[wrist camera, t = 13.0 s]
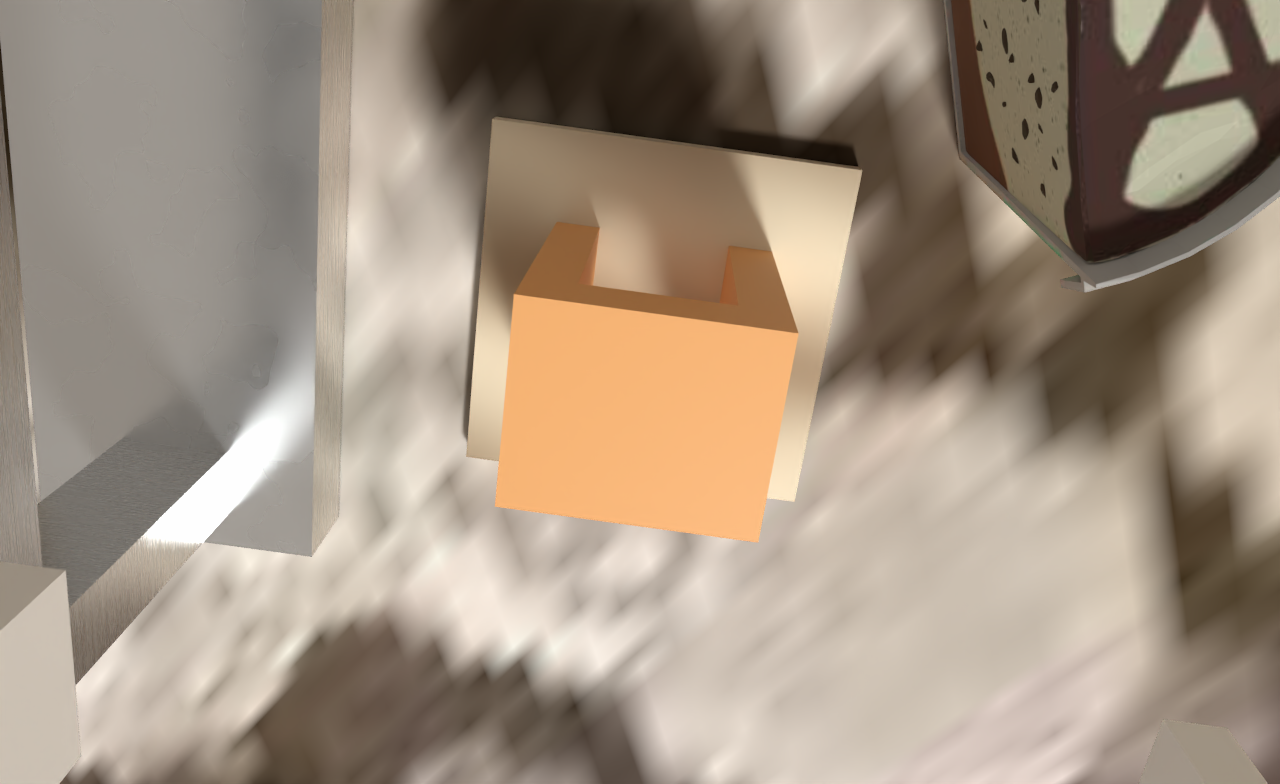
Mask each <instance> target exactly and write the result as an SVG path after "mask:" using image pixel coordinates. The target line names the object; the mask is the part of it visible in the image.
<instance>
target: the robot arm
mask: <svg viewBox="0 0 1280 784" xmlns="http://www.w3.org/2000/svg"><path fill="white" fill-rule="evenodd" d="M80 757H81V747H80V735H79V723H78V711H77V700H76V688H75V676H74V664H73V652H72V640H71V628H70V616H69V604H68V592H67V580H66V570H60V569H52V568H45V567H38V566H30V565H23V564H16V563H8V562H0V784H59V783H60V782H61V781H62V780H63V778H64V777H65V776H66V775H67V773H68V772H69V771H70V770H71V768H72V767H73V766H74V765H75V763H76V762H77V761H78V760H79V758H80ZM1139 784H1268V783H1267V782H1266V781H1265V779H1264V778H1263V776H1262V775H1261V774H1260V772H1259V771H1258V770H1257V768H1256V767H1255V765H1254V764H1253V763H1252V761H1251V760H1250V759H1249V757H1248V756H1247V755H1246V753H1245V752H1244V750H1243V749H1242V748H1241V746H1240V745H1239V744H1238V742H1237V741H1236V739H1235V738H1234V737H1233V735H1232V734H1231V733H1230V731H1229V730H1228V729H1227V728H1225V727H1217V726H1210V725H1202V724H1195V723H1188V722H1180V721H1173V720H1166V719H1163V721H1162V724H1161V726H1160V729H1159V732H1158V734H1157V737H1156V739H1155V742H1154V745H1153V747H1152V750H1151V753H1150V755H1149V758H1148V760H1147V763H1146V766H1145V768H1144V771H1143V773H1142V776H1141V779H1140V781H1139Z"/></svg>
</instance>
